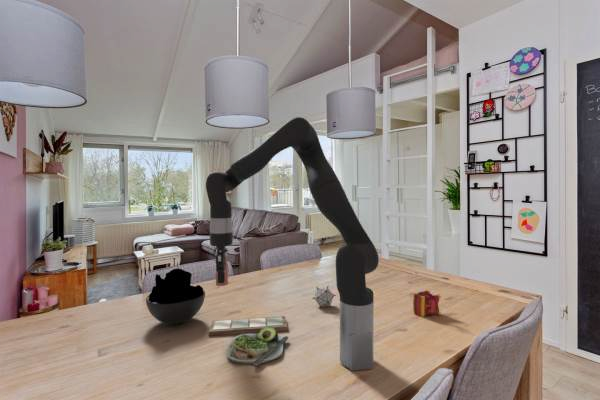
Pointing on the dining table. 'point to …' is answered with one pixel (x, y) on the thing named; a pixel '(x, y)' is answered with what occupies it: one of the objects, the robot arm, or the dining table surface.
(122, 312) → the dining table surface
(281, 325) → the board
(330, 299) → the game die
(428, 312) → the book monster
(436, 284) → the dining table surface
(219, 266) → the pawn
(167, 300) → the coal bowl
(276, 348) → the salad plate
